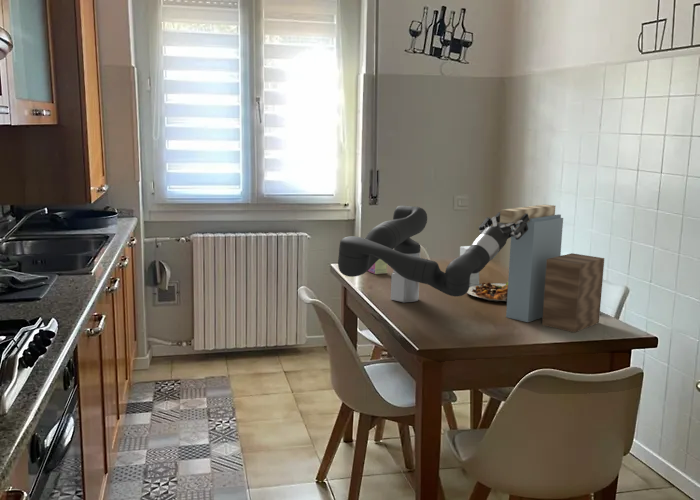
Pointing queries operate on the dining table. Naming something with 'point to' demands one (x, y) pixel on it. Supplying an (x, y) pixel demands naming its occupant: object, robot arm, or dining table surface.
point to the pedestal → (532, 266)
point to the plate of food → (490, 291)
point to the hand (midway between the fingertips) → (515, 214)
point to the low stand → (572, 292)
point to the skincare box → (473, 277)
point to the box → (379, 267)
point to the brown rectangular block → (532, 212)
